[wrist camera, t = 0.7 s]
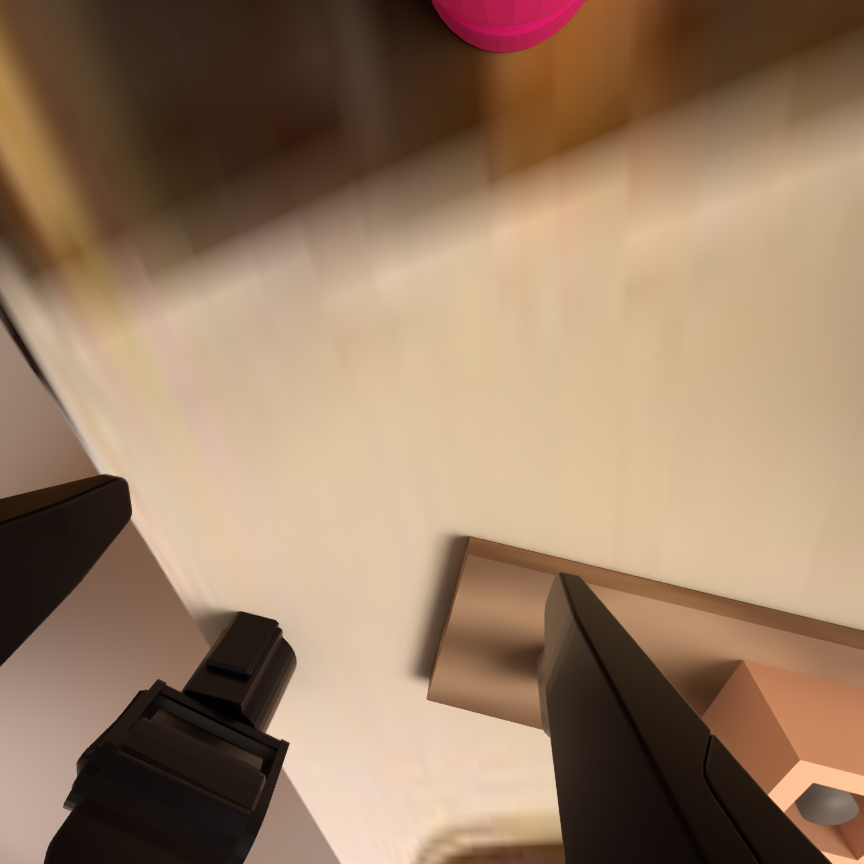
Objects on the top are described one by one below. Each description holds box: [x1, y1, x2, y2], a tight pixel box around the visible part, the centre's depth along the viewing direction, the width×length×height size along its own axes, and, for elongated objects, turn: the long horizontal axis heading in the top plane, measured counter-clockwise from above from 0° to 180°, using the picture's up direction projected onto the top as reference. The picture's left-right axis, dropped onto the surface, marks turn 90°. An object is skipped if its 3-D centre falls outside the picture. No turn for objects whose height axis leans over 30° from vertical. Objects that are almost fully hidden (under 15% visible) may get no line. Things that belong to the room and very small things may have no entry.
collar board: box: [427, 537, 864, 825], centre depth 24 cm, size 12×26×6 cm, turn 79°
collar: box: [701, 660, 864, 864], centre depth 23 cm, size 7×7×5 cm
